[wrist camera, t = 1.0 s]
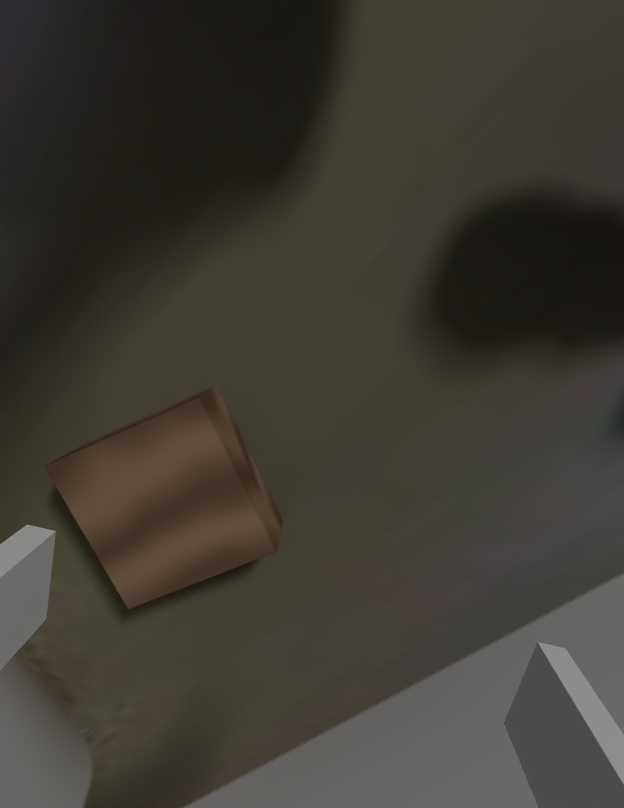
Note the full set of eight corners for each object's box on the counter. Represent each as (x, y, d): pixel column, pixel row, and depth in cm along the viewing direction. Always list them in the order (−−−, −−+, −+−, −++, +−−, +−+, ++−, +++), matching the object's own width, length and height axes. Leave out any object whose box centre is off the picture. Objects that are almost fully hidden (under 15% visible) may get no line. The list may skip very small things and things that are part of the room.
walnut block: (80, 446, 38) (44, 466, 33) (216, 385, 36) (198, 397, 32) (152, 572, 40) (128, 609, 35) (283, 520, 39) (276, 551, 34)
